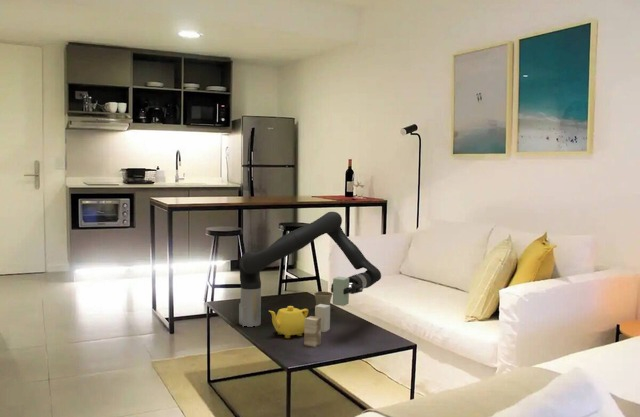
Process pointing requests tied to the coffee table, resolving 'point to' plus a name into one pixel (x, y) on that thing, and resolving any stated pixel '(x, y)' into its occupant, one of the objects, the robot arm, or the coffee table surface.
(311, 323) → the birch pillar
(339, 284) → the sage pillar
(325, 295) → the flower pot
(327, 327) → the offwhite pillar
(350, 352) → the coffee table surface
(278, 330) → the teapot
